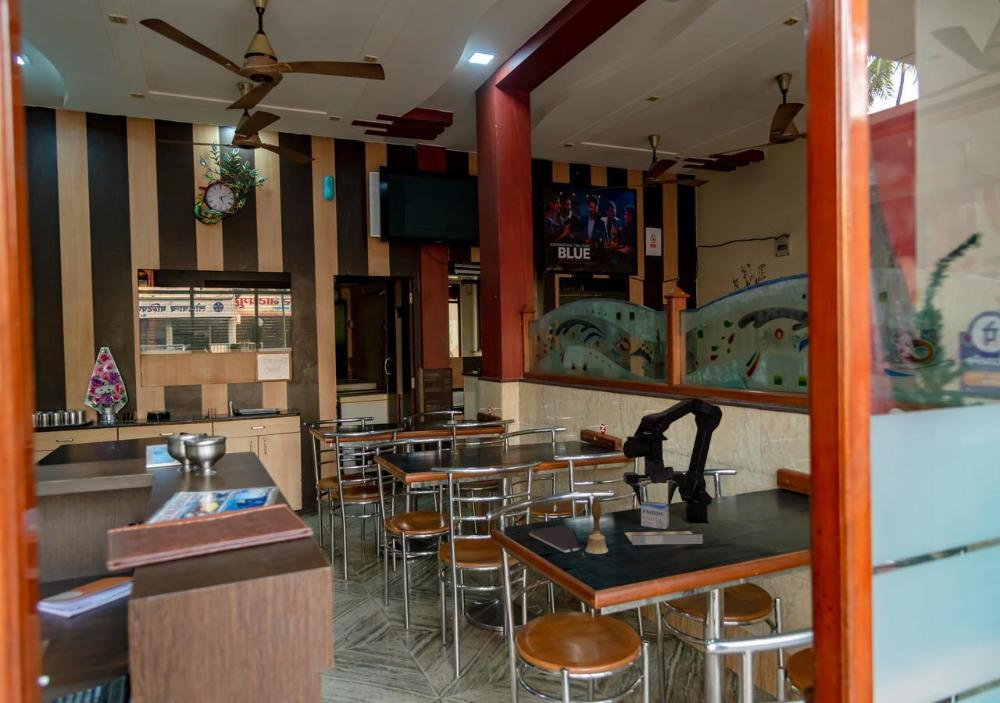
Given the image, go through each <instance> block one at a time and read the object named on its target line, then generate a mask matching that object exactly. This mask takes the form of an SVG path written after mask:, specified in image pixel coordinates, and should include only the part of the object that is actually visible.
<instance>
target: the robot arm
mask: <svg viewBox="0 0 1000 703" xmlns="http://www.w3.org/2000/svg"><path fill="white" fill-rule="evenodd" d="M689 414H692V415H693V416H694V422H695V426H696V433H695V438H694V442H693V447H692V450H691V451H692V452H691V456H690V460H689V465H688V469H687V470H686V472H685V473H683V472H682V471H681V470H674V467H673V466H665V463H664V462H665V461H664V453H663V452H664V448H663V445H664V444H663V441H664V442H665V441H668V437H667V436H666V435H665V434H664V433H665V432H666V431H668V430H669V428H670V427H671V425H672V424H673V423H675V422H676V421H678V420H681V419H682V418H683V417H685V416H687V415H689ZM722 419H723V411H722V408H721V407H720V406H718V405H716V404H712V403H709V402H707V401H704V400H702V399H701V398H698V397H695V396H694V397H691V396H688V397H685V398H684V399H682V400H681V401H680V402H677V403H676V404H674V405H672V406H669V408H666V409H664V410H662V411H659V412H654V413H649V414H647V415H643V417H641V419H640V423H639V424H638V426H637V428H636V430H635V432H634V434H633V436H631V435H628V436H626V440H625V441H624V443H623V446H622V452H623V455H624V457H625V458H626V459H629V460H630V459H637V458H643V462H644V470H643V471H644V474H638V473H637V472H636V471H629V472H627V471H625V472H623V474H622V475H623V476H622V480H623V482H624V483H625V484H626V485H628V486H630V487H632V489H633V491H634V494H635V497H636V499H637V503H638V504H639V506H641V504H642V495H641V484H639V482H641V481H642V482H644V481H646V482H647V481H651V483H652V484H667V503H668V506H669V505H671V503H672V501H673V498H674V494H675V493H676V490H677V492H678V494H679V496H680V499H681V502H685V506H683V516H684V517H683V518H684V520H685V521H686V522H687V523H688V524H690V525H695V524H696V525H697V524H710V521H709V520H708V506H710V505H712V501H713V497H712V496H711V495H710V494H709V493H708V491H707V490H706V488H707V482H706V479H705V476H704V473H705V468H706V464H707V459H708V455H709V450H710V446H711V442H712V438H713V433H714V431H715V430H716V429H717V428H718V427H719V426H720V424H721V422H722Z"/></svg>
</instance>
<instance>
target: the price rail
mask: <svg viewBox="0 0 1000 703" xmlns="http://www.w3.org/2000/svg"><path fill="white" fill-rule="evenodd" d="M703 536H704V535H703V534H702V533H692V534H663V535H632V543H631V545H633V546H636V545H638V546H640V545H641V546H642V544H650V545H687V544H688V545H689V544H690V543H699V544H704V542H703V541H704V540H703Z"/></svg>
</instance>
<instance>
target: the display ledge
mask: <svg viewBox="0 0 1000 703" xmlns="http://www.w3.org/2000/svg"><path fill="white" fill-rule="evenodd" d="M624 534H625V535H626V537H627V538H628V540H629V541H630V542H631V544H632V535H663V534H693V532H692V531H691V530H690V531H689V530H688V531H687V530H686V531H685V530H684V531H645V532H644V531H643V532H640V531H638V532H637V531H636V532H624ZM690 544H691V545H693V544H695V545H696V544H700V543H690ZM642 545H643V546H644V545H646V546H648V545H651V544H642ZM642 545H641V546H642Z"/></svg>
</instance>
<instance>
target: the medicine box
mask: <svg viewBox="0 0 1000 703" xmlns="http://www.w3.org/2000/svg"><path fill="white" fill-rule="evenodd" d="M669 514H670V512H669V504H668V502H656V501H646V500H644V501H643V502H641V505H640V526H641V527H647V528H653V529H654V528H656V529H665V530H666V529H667V528H668V527H669V525H670V523H669V522H670V520H669V518H670V515H669Z"/></svg>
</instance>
